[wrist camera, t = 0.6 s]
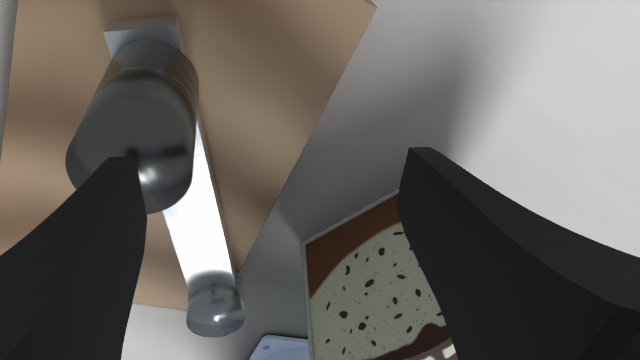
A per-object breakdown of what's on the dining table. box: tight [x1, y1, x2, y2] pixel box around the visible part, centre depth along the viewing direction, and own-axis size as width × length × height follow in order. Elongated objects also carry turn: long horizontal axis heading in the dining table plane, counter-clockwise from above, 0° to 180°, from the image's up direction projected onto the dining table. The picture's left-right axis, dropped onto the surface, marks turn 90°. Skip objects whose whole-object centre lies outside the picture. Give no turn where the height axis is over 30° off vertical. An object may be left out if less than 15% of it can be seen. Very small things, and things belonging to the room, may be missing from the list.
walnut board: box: [0, 0, 377, 311], centre depth 21 cm, size 20×12×2 cm, turn 154°
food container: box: [301, 188, 458, 360], centre depth 24 cm, size 12×6×10 cm, turn 121°
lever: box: [65, 15, 245, 337], centre depth 18 cm, size 16×3×7 cm, turn 2°
